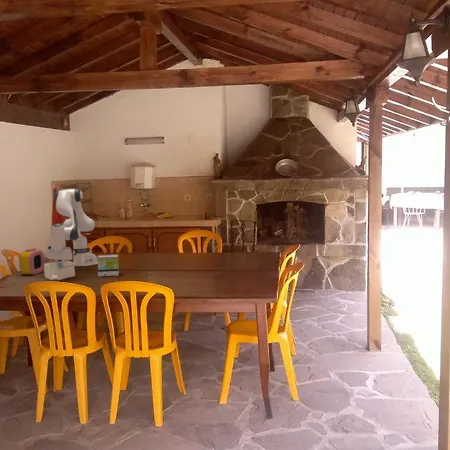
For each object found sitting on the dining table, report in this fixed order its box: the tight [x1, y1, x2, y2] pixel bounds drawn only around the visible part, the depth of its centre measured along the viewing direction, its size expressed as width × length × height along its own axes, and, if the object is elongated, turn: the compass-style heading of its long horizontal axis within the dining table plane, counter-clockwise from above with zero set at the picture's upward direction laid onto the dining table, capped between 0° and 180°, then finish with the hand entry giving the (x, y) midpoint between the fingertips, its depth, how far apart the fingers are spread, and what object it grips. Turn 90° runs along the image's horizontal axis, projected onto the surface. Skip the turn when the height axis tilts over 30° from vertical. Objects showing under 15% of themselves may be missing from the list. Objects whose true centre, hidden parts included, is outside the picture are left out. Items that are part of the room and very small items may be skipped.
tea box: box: [97, 254, 120, 277], centre depth 370 cm, size 15×10×15 cm, turn 101°
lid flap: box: [56, 261, 76, 281], centre depth 359 cm, size 17×2×12 cm, turn 156°
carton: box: [43, 260, 76, 281], centre depth 368 cm, size 18×14×10 cm
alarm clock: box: [18, 247, 45, 276], centre depth 382 cm, size 18×11×19 cm, turn 168°
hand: (60, 265), depth 354 cm, fingers closed on lid flap, 2 cm apart
